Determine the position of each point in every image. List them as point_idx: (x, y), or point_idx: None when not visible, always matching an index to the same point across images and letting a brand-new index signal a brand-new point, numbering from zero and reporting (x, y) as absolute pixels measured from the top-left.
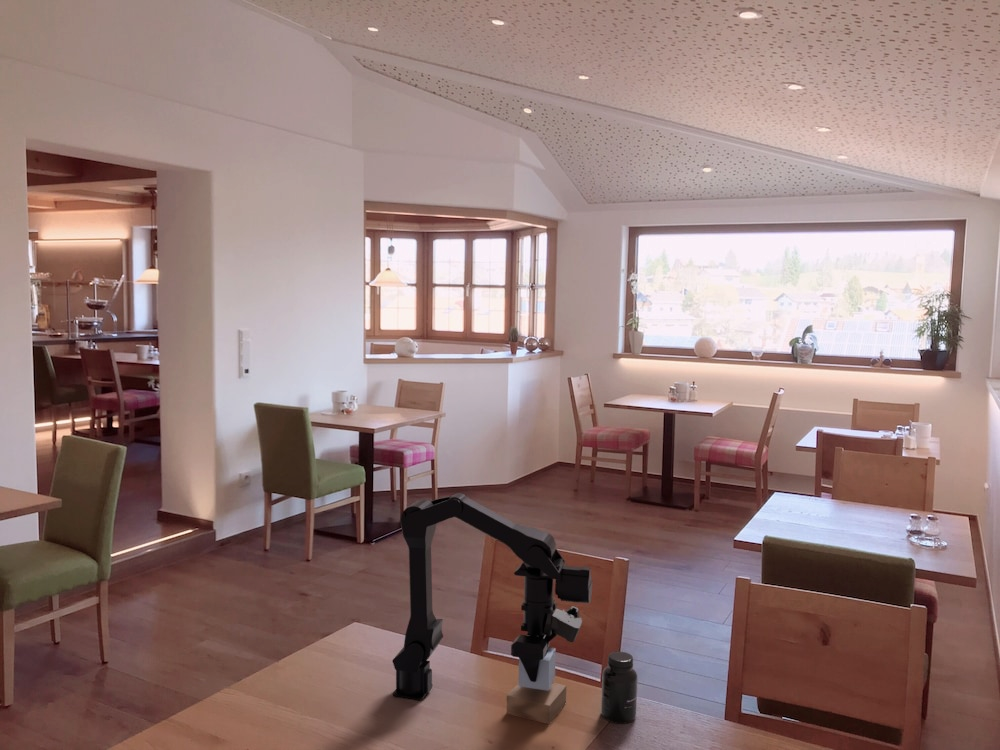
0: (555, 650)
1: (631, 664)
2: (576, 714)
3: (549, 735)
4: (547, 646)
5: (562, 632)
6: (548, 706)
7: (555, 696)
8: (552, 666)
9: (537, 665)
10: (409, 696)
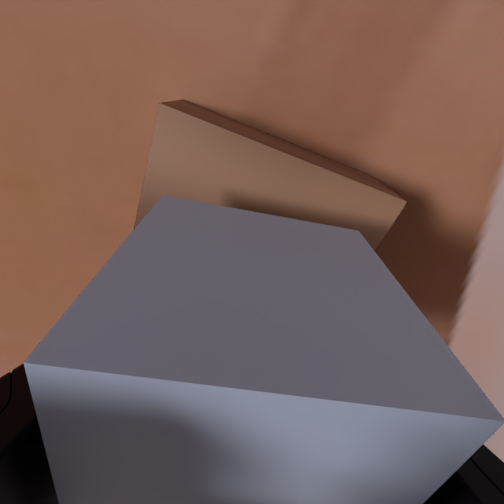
0: (60, 336)
1: None
2: (286, 38)
3: (457, 172)
4: (18, 440)
5: None
6: (401, 205)
7: (306, 172)
8: (259, 274)
9: (494, 465)
10: None
